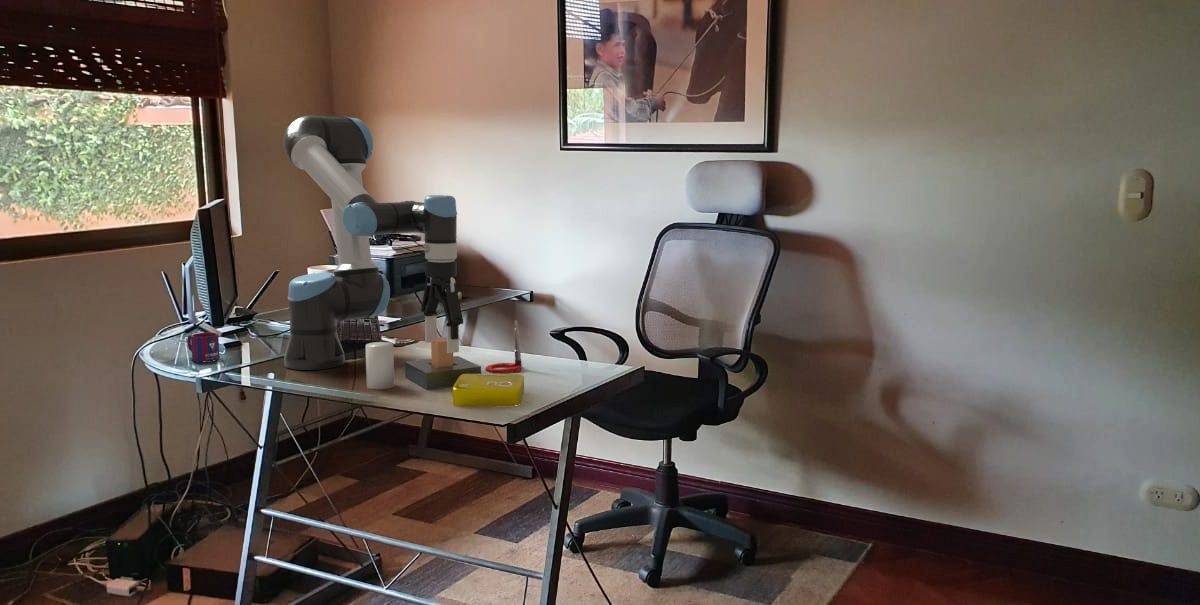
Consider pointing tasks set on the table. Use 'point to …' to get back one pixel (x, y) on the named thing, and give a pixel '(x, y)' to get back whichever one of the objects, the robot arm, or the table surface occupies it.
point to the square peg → (440, 353)
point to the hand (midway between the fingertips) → (441, 347)
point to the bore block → (438, 372)
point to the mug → (204, 346)
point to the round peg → (380, 365)
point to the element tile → (488, 390)
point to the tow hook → (513, 366)
